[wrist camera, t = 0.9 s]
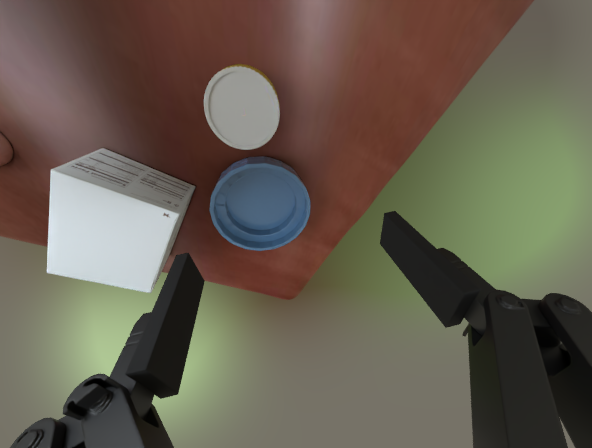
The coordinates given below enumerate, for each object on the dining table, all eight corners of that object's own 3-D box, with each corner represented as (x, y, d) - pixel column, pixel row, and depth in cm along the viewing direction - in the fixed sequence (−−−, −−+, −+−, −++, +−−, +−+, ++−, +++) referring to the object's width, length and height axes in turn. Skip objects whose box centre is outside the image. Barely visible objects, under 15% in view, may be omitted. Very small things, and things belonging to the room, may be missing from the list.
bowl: (194, 176, 34) (187, 188, 31) (287, 139, 34) (292, 146, 30) (241, 246, 43) (239, 262, 40) (314, 218, 43) (320, 231, 39)
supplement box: (100, 145, 30) (47, 166, 22) (196, 185, 35) (181, 213, 27) (86, 234, 37) (42, 274, 29) (169, 256, 42) (150, 295, 34)
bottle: (262, 135, 33) (268, 166, 20) (216, 115, 30) (189, 136, 18) (279, 86, 30) (298, 87, 17) (229, 59, 27) (208, 37, 15)
